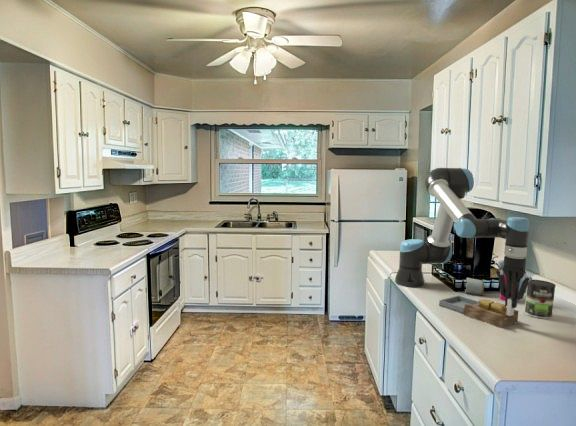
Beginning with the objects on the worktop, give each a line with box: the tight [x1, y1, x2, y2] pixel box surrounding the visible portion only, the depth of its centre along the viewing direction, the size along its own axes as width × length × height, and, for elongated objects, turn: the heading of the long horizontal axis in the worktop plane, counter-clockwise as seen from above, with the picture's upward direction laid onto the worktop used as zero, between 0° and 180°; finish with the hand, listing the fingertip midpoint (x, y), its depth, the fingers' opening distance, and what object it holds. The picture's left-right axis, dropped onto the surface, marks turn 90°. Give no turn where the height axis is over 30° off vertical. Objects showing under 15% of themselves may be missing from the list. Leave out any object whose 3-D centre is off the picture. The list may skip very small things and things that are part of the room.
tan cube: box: [478, 298, 495, 311], centre depth 169 cm, size 4×4×4 cm
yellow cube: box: [491, 301, 507, 315], centre depth 164 cm, size 4×4×4 cm
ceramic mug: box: [464, 277, 485, 296], centre depth 202 cm, size 11×8×8 cm
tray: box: [438, 295, 479, 315], centre depth 181 cm, size 12×14×2 cm
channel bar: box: [463, 299, 519, 329], centre depth 167 cm, size 16×12×5 cm
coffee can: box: [524, 279, 556, 320], centre depth 173 cm, size 10×10×14 cm
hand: (509, 314), depth 161 cm, fingers closed
